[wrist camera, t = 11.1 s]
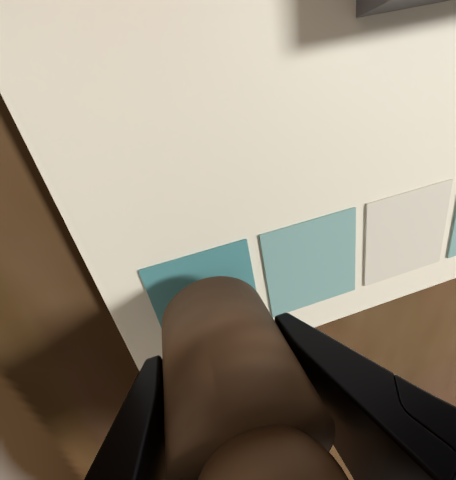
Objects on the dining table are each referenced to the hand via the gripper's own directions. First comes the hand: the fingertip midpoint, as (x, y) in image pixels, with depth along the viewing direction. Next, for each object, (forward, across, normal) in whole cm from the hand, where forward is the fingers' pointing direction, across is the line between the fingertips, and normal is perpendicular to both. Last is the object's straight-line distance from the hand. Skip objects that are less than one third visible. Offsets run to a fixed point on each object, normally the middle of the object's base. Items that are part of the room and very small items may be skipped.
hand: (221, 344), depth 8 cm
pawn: (+1, 0, 0) cm, 1 cm away
